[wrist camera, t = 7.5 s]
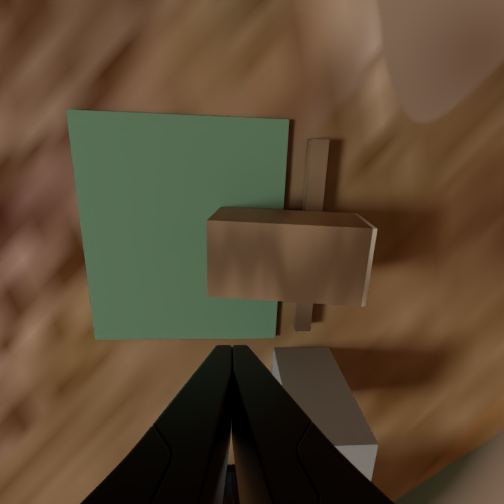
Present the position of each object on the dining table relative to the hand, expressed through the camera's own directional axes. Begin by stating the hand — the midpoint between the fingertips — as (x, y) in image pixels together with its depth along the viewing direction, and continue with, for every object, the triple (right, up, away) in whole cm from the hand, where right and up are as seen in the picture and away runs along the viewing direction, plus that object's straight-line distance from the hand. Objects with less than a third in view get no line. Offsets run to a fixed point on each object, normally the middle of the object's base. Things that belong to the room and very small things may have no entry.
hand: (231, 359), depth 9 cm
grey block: (+4, -6, +15) cm, 16 cm away
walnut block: (+6, +3, +9) cm, 11 cm away
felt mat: (-4, +4, +11) cm, 12 cm away
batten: (+4, +4, +12) cm, 13 cm away
